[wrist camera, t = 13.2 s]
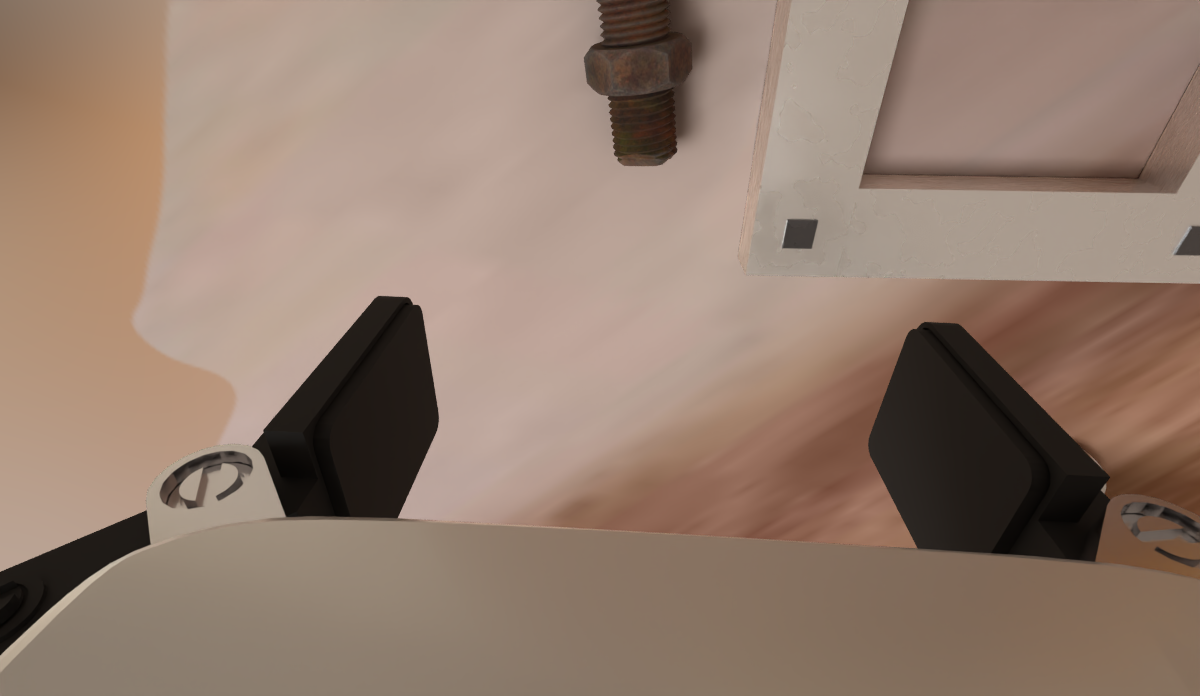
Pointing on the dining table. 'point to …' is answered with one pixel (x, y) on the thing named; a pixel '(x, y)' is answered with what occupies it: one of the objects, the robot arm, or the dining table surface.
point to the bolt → (639, 77)
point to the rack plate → (939, 181)
